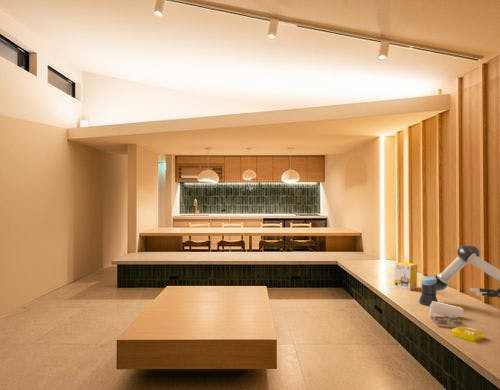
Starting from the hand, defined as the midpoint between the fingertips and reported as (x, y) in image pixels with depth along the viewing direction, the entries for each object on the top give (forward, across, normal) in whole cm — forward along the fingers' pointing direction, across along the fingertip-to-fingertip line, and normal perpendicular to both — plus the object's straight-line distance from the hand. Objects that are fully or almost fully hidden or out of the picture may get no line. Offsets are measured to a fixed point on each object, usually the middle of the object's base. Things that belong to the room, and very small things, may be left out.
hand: (473, 291), depth 279 cm
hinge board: (+23, -18, -21) cm, 36 cm away
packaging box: (+33, +92, -18) cm, 99 cm away
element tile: (+18, -41, -23) cm, 50 cm away
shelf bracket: (+20, 0, -21) cm, 29 cm away
